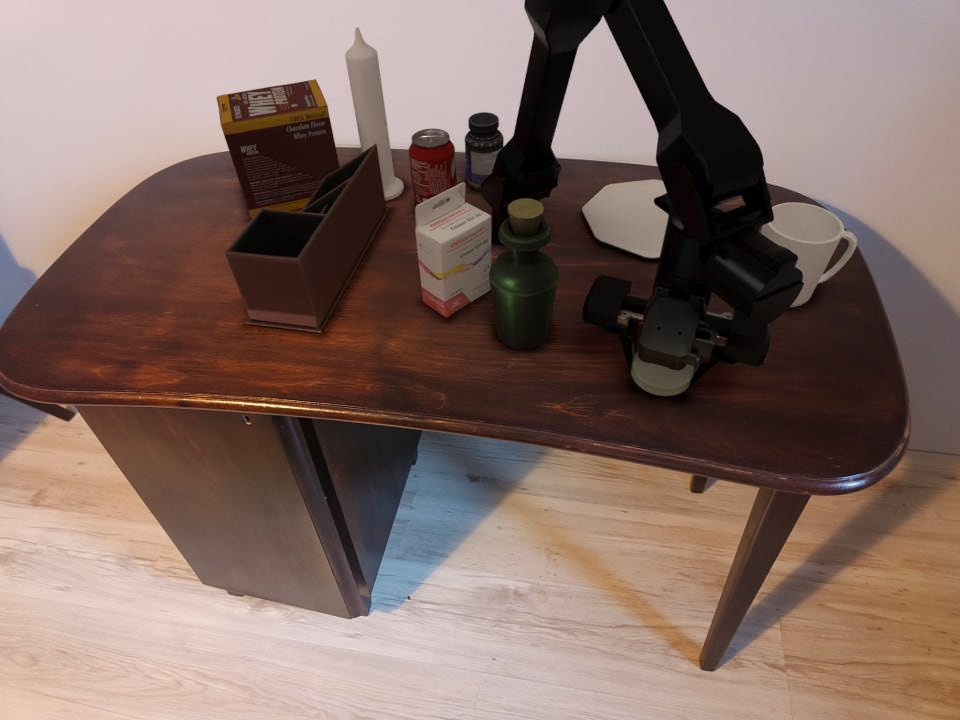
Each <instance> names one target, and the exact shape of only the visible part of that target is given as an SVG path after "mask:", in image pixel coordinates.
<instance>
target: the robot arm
mask: <svg viewBox="0 0 960 720" xmlns="http://www.w3.org/2000/svg"><path fill="white" fill-rule="evenodd" d="M523 8H524V11H525V14H526V16H527V19H528V21H529V23H530V26H531V28H532V31H533V37H532V42H531V47H530V52H529V57H528V62H527V66H526V72H525V77H524V80H523V81H524V82H523V86H522V91H521V96H520V97H521V98H520V101H519V106H518V111H517V116H516V121H515V126H514V132H513V135H512V137H511V138H510V139H508V141H507V142H506V143H505V144H504V145H503V148H502V149H501V150H500V151H499V152H498V154H497V157H496V160H495V163H494V166H493V170H492V173H491V174H490V175H489V176H488V177H487V178H486V179H485V180H484V181H483V182H482V183H481V184H480V186H481V191H480V192H481V196H482V200H483V201H485V203H487V204H488V206H490V208H491V243H494V244H498V245H503V246H505V245H504V244H502V243H501V242H500V240H499V237H498V235H499V231H500V228H501V225H502V223H503V222H504V221H505V220H506V219H507V218H509V213H508V205H509V204H510V203H511V202H513V201H515V200H518V199H524V198H525V199H533V200H537V201H539V202H540V203H541V200H543V199H548V198H550V197H551V194H552V191H553V189H556V188H558V186H559V183H558V182H559V176H560V174H561V172H562V171H563V166H562V165H561V163H559V161H558V159H557V157H556V154H555V153H554V151H553V148H552V145H553V140H554V138H555V133H556V129H557V127H558V123H559V119H560V115H561V111H562V109H563V104H564V101H565V97H566V95H567V91H568V90H567V89H568V86H569V83H570V79H571V75H572V72H573V67H574V65H575V61H576V57H577V53H578V49H579V47H580V45H581V43H583V41H585V40H586V38H587V37H588V36H589V35H590V34H591V33H592V32H593V31H594V29H595V28H596V27H598V25H599V24H600V22H601V20H602V18H603V19H604V20H605V23H606V25H607V27H608V29H609V31H610V33H611V35H612V37H613V40H614V42H615V44H616V46H617V48H618V50H619V52H620V54H621V56H622V58H623V60H624V62H625V64H626V66H627V68H628V71H629V73H630V75H631V77H632V79H633V81H634V83H635V85H636V87H637V89H638V91H639V94H640V96H641V98H642V100H643V102H644V104H645V106H646V109H647V110H648V113H649V114H650V117H651V119H652V121H653V123H654V126H655V129H656V132H657V143H656V152H655V163H656V166H657V168H658V171H659V174H660V177H661V181H663V183H664V186H665V189H666V192H667V193H666V194H664V195H662V196H659V197H656V198H655V199H654V204H655V205H656V206H658V207H659V208H660V209H662V210H663V211H664V212H666V213H667V214H668V221H667V225H666V230H665V235H664V239H663V244H662V249H661V253H660V258H659V259H658V263H657V267H656V273H655V277H654V280H653V281H654V282H653V287H652V291H651V295H650V296H649V297H648V299H646V298H643V297H638V296H634V295H630V294H631V291H632V287H633V282H632V281H631V280H627V279H623V278H619V277H614V276H609V275H606V274H602V273H601V274H600V275H598V276H597V277H595V278H594V280H593V282H592V285H591V286H590V288H589V290H588V293H587V295H586V297H585V298H584V303H583V305H582V313H581V319H582V321H583V322H584V324H587V325H592V326H596V327H600V328H602V329H603V331H604V332H606V333H609V334H613V335H615V336H616V337H617V338H618V340H619V342H620V345H621V348H622V351H623V354H624V358H625V361H626V365H627V366H628V367H630V368H631V367H632V362H633V359H634V356H635V354H636V353H637V352H638V357H639V359H640V360H641V361H643V362H646V363H653V364H657V365H660V366H664V367H668V368H669V369H672V370H682V369H684V368H685V367H686V365H687V364H689V365H692V366H693V367H694V373H693V376H692V380H691V383H690V384H692V385H695V384H696V383H697V382H698V381H699V380H700V379H701V378H702V377H704V375H706V373H708V371H709V370H711V369H712V368H713V367H714V366H716V365H717V364H719V363H724V364H729V365H734V364H736V363H739V364H743V365H747V366H751V367H754V368H757V367H759V366H762V365H763V364H764V363H765V360H766V357H767V355H768V352H769V348H770V343H771V339H772V332H773V327H774V321H776V320H777V319H779V318H780V317H781V316H782V315H783V314H784V313H785V312H786V311H788V309H790V308H789V307H790V306H791V305H792V304H793V303H794V301H795V300H796V298H797V297H798V296H799V294H800V292H801V290H802V288H803V285H804V283H803V282H802V281H803V273H802V271H801V270H800V269H798V268H797V267H795V265H796V263H797V261H798V256H797V255H796V254H795V253H793V252H792V251H790V250H789V249H787V248H785V247H782V246H779V245H778V244H776V243H775V242H773V241H772V240H770V239H769V238H767V237H766V236H764V235H763V234H761V231H760V228H761V226H763V225H765V224H767V223H770V222H772V221H773V220H774V215H773V210H772V207H773V206H772V203H771V202H772V200H773V199H772V196H771V194H770V191H769V187H768V182H767V178H766V174H765V169H764V166H765V162H764V155H763V152H762V148H761V147H760V145H759V143H758V142H757V140H756V139H755V138H754V135H753V134H752V133H751V132H750V130H749V129H748V127H747V126H746V125H745V123H744V122H743V120H742V119H741V117H740V116H739V115H738V114H736V113H735V112H733V111H732V110H730V109H729V108H727V107H726V106H724V105H723V104H721V103H719V102H718V101H717V100H716V99H715V98H714V97H713V95H712V94H711V92H710V91H709V89H708V87H707V85H706V83H705V81H704V79H703V77H702V75H701V73H700V71H699V69H698V67H697V64H696V63H695V61H694V59H693V56H692V55H691V53H690V50H689V48H688V46H687V45H686V43H685V41H684V38H683V36H682V35H681V32H680V30H679V28H678V26H677V24H676V22H675V20H674V18H673V16H672V14H671V13H670V12H671V11H670V10H669V8H668V5H667V4H666V2H665V0H524V3H523ZM740 198H742V200H743V202H744V204H743V205H741V206H738V207H736V208H733V209H730V210H727V211H724V209H722V208H721V207H719V206H721V205H723V204H726V203H728V202H731V201H734V200H737V199H740ZM542 218H543V219H544V213H543V214H542ZM713 294H714V295H715V296H717V297H718V298H719V299H720V300H722V301H723V302H724V303H726V304H727V305H728V306H729V307H731V308H732V312H727V311H725V312H723V313H721V314H720V313H715V312H712V311H708V309H709V305H710V302H711V298H712V296H713ZM640 321H642V323H643V326H642V329H641V332H640V336H639V328H640ZM638 338H639V341H638ZM637 346H638V348H637Z"/></svg>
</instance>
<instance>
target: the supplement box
mask: <svg viewBox="0 0 960 720" xmlns="http://www.w3.org/2000/svg"><path fill="white" fill-rule="evenodd" d="M215 98H216V102H217V107H218V114H219V122H220V128H221V130H222V133H223V135H224V136H223V137H224V140H225V143H226V146H227V149H228V152H229V154H230V157H231V161H232V164H233V167H234V170H235V174H236V177H237V179H238V183H239V186H240V188H241V192H242V195H243V198H244V202H245V204H246V207H247V210H248V214H249V217H250V219H252V218H253V217H254V216H255V215H256V214H257V212H258V211H259V210H260V209H261V208H267V209H275V210H285V211H296V210H300V209H301V210H302V209H303V208H304V206H305V205H306V204H307V202H308V201H309V199H310V198H311V196H312V195H313V193H314V192H315V191H316V189H317V188H318V186H319V184H320V183H321V181H322V180H323V178H324V177H325V176H327V175H328V174H330V173H332V172H333V171H335V170H336V169H338V168H339V167H340V161H339V155H338V152H337V146H336V142H335V136H334V131H333V128H332V122H331V121H332V120H331V117H330V112H329V106H328V103H327V101H326V98H325V96H324V94H323V91H322V89H321V87H320V85H319V83H318V80H317V79H316V78H315V79H309V80H304V81H303V80H302V81H298V82H292V83H286V84H279V85H273V86H267V87H266V86H265V87H261V88H260V87H259V88H254V89H250V90H243V91H237V92H232V93H226V94H220V95H217V96H216V97H215Z"/></svg>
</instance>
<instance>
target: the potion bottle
mask: <svg viewBox="0 0 960 720" xmlns="http://www.w3.org/2000/svg"><path fill="white" fill-rule="evenodd" d="M544 209H545V207H544V205H543V203H542V202H541V201H540V202H539V201H537V200H533V199H525V198H524V199H518V200H515V201H513V202H511V203H510V204H509V205H508V213H509V218H507V219H506V220H505V221H504V222H503V223H502V225H501V228H500V231H499V235H498V237H499V240H500V242H501V243H502V244H504V245H503V246H505V247H506V248H508V250H506V251H504V252H501V253H500V254H499V255H498V256H497V257H496V258H495V259H494V260H493V262H491V267H490V271H489V280H490V288H491V290H490V295H491V302H492V303H491V304H492V309H493V317H494V325H495V333H496V335H497V337H498V338H497V339H498V340H499V341H501V342H502V343H503V344H504V345H505V346H507V347H509V348H512V349H514V350H524V351H525V350H530V349H534V348H536V347H538V346H541V345H542V344H543V343H544V342H545V341H546V340H547V339H548V338H549V333H550V327H551V322H552V316H553V311H554V306H555V300H556V294H557V289H558V285H559V277H560V269H559V268H558V266H557V264H556V261H555V260H554V259H553V257H552V256H551V255H549V254H548V253H546V252H545V251H543V250H540V249H542V248H544V247H547V246H548V244H549V243H550V242H551V241H552V237H553V233H552V229H551V226H550V224H549V223H548V220H546V219H545V218H544V217H543V218H542V214H543V215H544V211H545V210H544ZM502 244H501V245H502Z"/></svg>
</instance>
